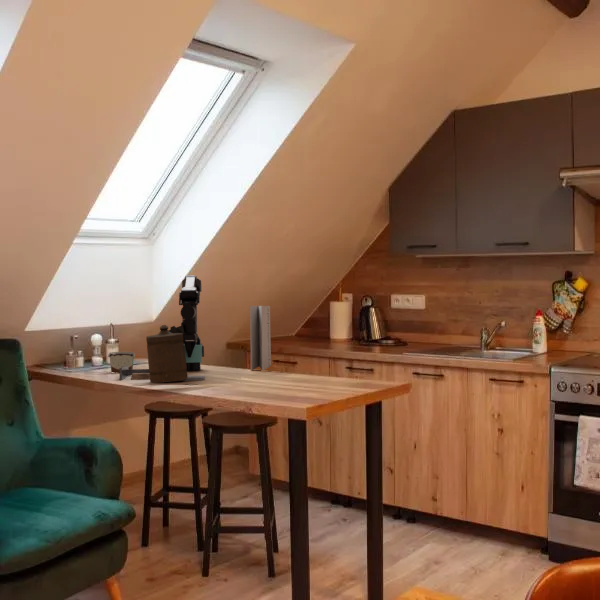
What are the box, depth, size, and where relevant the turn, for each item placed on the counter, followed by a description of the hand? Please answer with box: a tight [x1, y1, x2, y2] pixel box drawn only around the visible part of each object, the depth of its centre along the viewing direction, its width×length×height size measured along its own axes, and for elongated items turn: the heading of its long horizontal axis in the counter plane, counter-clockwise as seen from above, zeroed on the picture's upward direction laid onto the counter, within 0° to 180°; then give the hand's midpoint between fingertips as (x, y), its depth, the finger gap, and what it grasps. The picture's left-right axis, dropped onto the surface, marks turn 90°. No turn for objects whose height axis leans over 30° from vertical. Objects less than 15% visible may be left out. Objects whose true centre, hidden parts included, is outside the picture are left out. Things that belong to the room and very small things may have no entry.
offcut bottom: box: [130, 376, 150, 381], centre depth 329 cm, size 13×4×2 cm, turn 92°
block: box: [184, 344, 203, 363], centre depth 323 cm, size 10×3×7 cm, turn 95°
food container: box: [107, 351, 136, 372], centre depth 358 cm, size 12×6×10 cm, turn 84°
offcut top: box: [131, 373, 150, 378], centre depth 329 cm, size 12×3×2 cm, turn 93°
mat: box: [179, 375, 206, 382], centre depth 323 cm, size 12×10×1 cm
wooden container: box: [146, 324, 189, 384], centre depth 314 cm, size 15×15×22 cm
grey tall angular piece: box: [249, 305, 272, 371], centre depth 349 cm, size 14×6×30 cm, turn 168°
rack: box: [119, 365, 149, 381], centre depth 336 cm, size 22×20×5 cm
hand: (189, 357), depth 323 cm, fingers closed on block, 3 cm apart
